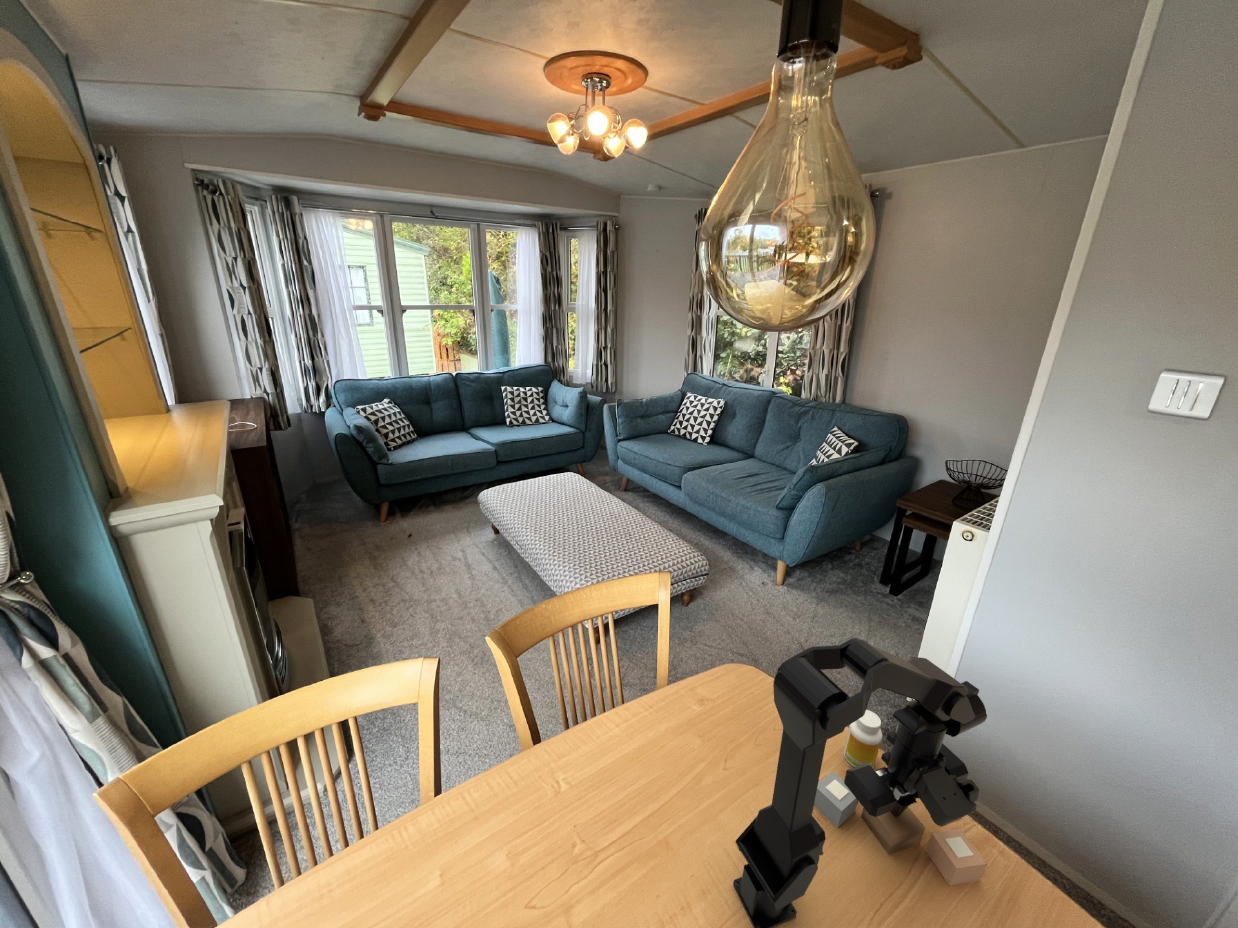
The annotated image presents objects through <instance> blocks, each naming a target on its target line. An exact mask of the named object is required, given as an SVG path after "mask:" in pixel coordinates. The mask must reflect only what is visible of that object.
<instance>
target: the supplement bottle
mask: <svg viewBox="0 0 1238 928" xmlns="http://www.w3.org/2000/svg"><path fill="white" fill-rule="evenodd" d="M881 726H882V721H881V718H880V716H878V714H877V713H875V712H874V711H871V710H868V709H866V712H865V714H864V716H863V717H861V718H860V719H858V720H856V721H855V722H853V723H852V724H850V725H848V730H847V733H846V734H847V735H846V737H845V741H844V746H843V756H844V758H845V760H846V761H847V763H848V764H849V765H850V766H852V768H854V767H857V766H860V765H863V764H867V765H870V766H871V767H872V768H873V769H874V767H875V765H876V761H877V758H878V754H879V751H878V750H880V747H881V743H882V739H883V732H882V730H881Z"/></svg>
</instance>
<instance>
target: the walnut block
mask: <svg viewBox="0 0 1238 928" xmlns="http://www.w3.org/2000/svg"><path fill="white" fill-rule="evenodd" d="M860 818H861V819H862V821H863V823H864V824H865V825H866V826H867V828H868V829H869V830H870V831H871V833H872V835H873V836H874V838H875V839H876V840H877V842H878V843H879V845H881V847H882V849H883V850H884V851H885V852H886V853H887V855H892V854H896V853H898V852H901V851H903V850H907V849H910V848H912V847H915V846H918V845H920V844H921V842H922V838H923V836H924V832H925V830H926V826H925V825H924V824H923V823H922V821H920V819H919V818H918V817H917V815H916V814H915V813H914V812H913V810H911V808H910V807H909V806H908V807H907V809H906V810H905V811H904V812H903V813H902V814H901V815H900V816H897V817H894V815H893V814H892V813H891V812H887V813H885V814H882V815H880V816H877V817H874V816H871V815H869V813H868V812H867V811H866V810H865V809H864V807H862V811H861V815H860Z"/></svg>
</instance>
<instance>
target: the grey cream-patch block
mask: <svg viewBox="0 0 1238 928" xmlns="http://www.w3.org/2000/svg"><path fill="white" fill-rule="evenodd" d="M858 803H859V801H858V800H857V799H856V797H855V796H854V795H853V794H852V792H851V791H850V790H849V789H848V787H847V786H846V785H845V784H844V778H841V776H839V775H838V773H836V772H835V771H831V772H829V774H827V775H826V776H825V777H824V778H823V779H821V780H819V781H818V786H817V791H816V797H815V802H814V808H816V809H817V810H818V811H819V812H820V813H821V814H822V815H823V816H824V817H826V819H828V820H829V822H831V824H833V825H834V826H835V827H836V828H839V827H840V826H841V825H842V824H843V823H844V822H845V821H847V819H849V818H850V817H851V816H852V815H853V814H854V813H855V812H856V810H857V807H858Z"/></svg>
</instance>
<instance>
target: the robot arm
mask: <svg viewBox="0 0 1238 928" xmlns="http://www.w3.org/2000/svg"><path fill="white" fill-rule="evenodd" d="M844 668H847V669H848V670H850V671H851V672H852V673H853V675H855V676H856V677H857V678H858V679H860V680H861V681H862V682H863V683H862V686H861V688H860V691H859V692H858V693H856V694H853V695H852V696H851V697H850V696H849V694H847V692H846V691H844V690H843V689H842V688H841V687H840V686H839V685H838V684H837V683H835V681H833V680H832V679H831V678H830V677H829V676H828V675H827V673H824V672H823V670H825V671H826V670H839V669H841V670H842V669H844ZM879 689H884V690H886V691H889V692H892V693H894V694H897V695H900V696H903V697H906V698H909V699H910V700H908V701H906V702H905V703H903V705H902V707H901V708H898V709H896V710H895V711H894V712H893V714H892V718H894V719H895V720H896V721H897V726H896V729H895V731H891V732H888V733H887V736H886V740H887V741H889V743H890V744H891V746H890V750H889V751H887V752H882V753H881V757H880V759H881V760H882V761H883V762H884V763H885V765H886V766H887V767H886V766H884V767H883V766H882V767H881V768H878V769H874V767H873V768H872V767H871V766H870V765H867V764H863V765H860V766H857V767H851V768H848V769H846V770H845V775H844V778H843V780H844V784H845V785H846V786H847V787H848V789H849V790H850V791H851V792H852V794H853V795H854V796H855V797H856V799H857V800H858V803H859V804H860V805H861V806H862V808H864V809H865V810H866V811H867V812H868V813H869V815H871V816H874V817H877V816H880V815H882V814H885V813H887V812H891V813H892V814H893V815H894V817H897V816H900V815H901V814H902V813H903V812H904V811H905V810H906V809H907V807H909V806H911V805H913V804H916V803H917V801H918V800H916V799H919V800H920V801H921V803H922V805H923V806H924V807H925V810H926V811H927V813H929V815H930V818H931V820H932V821H933V823H935V825H937V826H939V827H944V826H947V825H949V824H951V823H954V822H957V821H959V820H961V819H962V818H964V817H966V816H967V815H969V814H971V813H973V812H974V811H976V810H977V806H978V805H977V803H976V802H977V801H978V799H979V794H980V789H979V787H978V786H977V785H976V783H975V782H974V780H973V779H968V776H969V769H968V768H967V766H966V763H964V761H963V760H961V758H959V757H958V756H957V755H956V754H955V753H954V752H953V751H952V750H951V749H950V748H949V747H948V746H946V745H945V744H944V743H943V742H944V739H945V736H946V735H947V736H949V737H952V738H954V737H955V738H956V737H958V736H959V735H961V734H963V733H965V732H967V731H969V730H972V729H973V728H975V727H977V726H980V725H982V724H983V723H985V722H986V720H987V719H988V714H987V709H986V706H985V704H984V701H983V700H982V699H981V698H980V696H979V695H978V694H979V693H980V689H979V688H978V687H976V686H975V685H974V684H973V683H970V682H969V681H967V680H965V681H963V682H960V681H959V680H957V679H956V678H955V677H953V676H952V675H950V674H949V673H947V672H946V671H944V670H943V669H942V668H940V667H939V666H937V665H936V664H935V663H933V662H932V661H931V660H929V659H927V658H925V657H917V656H912V657H910V658H909V660H908V659H907V660H906V659H905V658H903V657H899V656H897V655H895V654H893V653H890V652H888V651H885V650H883V649H880V648H878V647H876V646H874V645H872V644H870V643H868V642H867V641H865V640H864V639H860V638H858V637H852V638H851V639H849V640H847V641H845V642H843V643H841V644H839V645H821V646H811V647H810V646H809V647H808V648H806V649H804V650H803V651H801V652H799V653H797V654H795V655H793V656H792V657H790V658H788V659H786V660H784V662H782V663H781V664H780V666H779V667H778V668H777V669H776V673H775V675H774V679H773V701H774V705H775V709H776V711H777V713H778V715H779V718H780V720H781V721H780V722H781V723H782V733H781V741H780V747H779V753H778V760H777V767H776V774H775V780H774V788H773V793H772V800H771V803H770V804H769V805H767V806H765V807H763V808H761V809H759V810H758V812H757V815H756V817H755V818H754V819H753V820H752V821H751V822H750V823H749V824H748V826H747V827H746V828H745V829H744V830H743V831H742V833H741V834H740V835H739V836H738V837H737V838H736V840H735V844H736V847H737V849H738V851H739V852H740V853H741V855H742V857H743V858H744V860H745V861H746V862H747V864H744V865H743V870H742V876H740V877H738V878H735V879H734V880H733V882H732V883H733V884H732V885H733V888H734V890H735V892H736V894H737V896H738V898H739V900H740V902H741V904H742V906H743V908H744V910H745V912H746V915H747V916H748V918H749V920H750V922H751V925H752V926H753V928H758V927H759V928H775V927H777V926H779V925H781V924H784V923H785V922H788V921H791V920H793V919H795V918H796V917H797V910H796V908H795V906H794V905H793V902H795V901H797V900H798V899H800V898H802V897H803V896H805V894H806V892H807V890H808V889H809V887H810V884H811V883H812V881H813V880H814V877H815V876H816V874H817V872H818V870H819V866H818V864H819V861H820V856H823V855H824V852H823V848H824V845H825V843H826V840H827V838H826V832H825V830H824V828H823V827H822V826H821V825H820V824H819V823H818V821H817V820H816V818H814V816H813V813H814V812H813V811H814V808H815V806H814V802H815V797H816V791H817V786H818V783H819V782H820V776H821V771H822V764H823V761H824V754H825V750H826V744H827V741H828V740H829V739H831V738H833V737H836V736H838V735H840V734H842V733H843V732H844V731H845V728H847V727H849V725H850V724H852V723H853V722H855V721H856V720H858V719H860V718H861V717H863V716H864V714H865V712H866V710H867V708H868V705H869V702H870V699H871V695H872V693H874V692H876V691H877V690H879ZM911 699H912V700H911Z"/></svg>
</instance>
